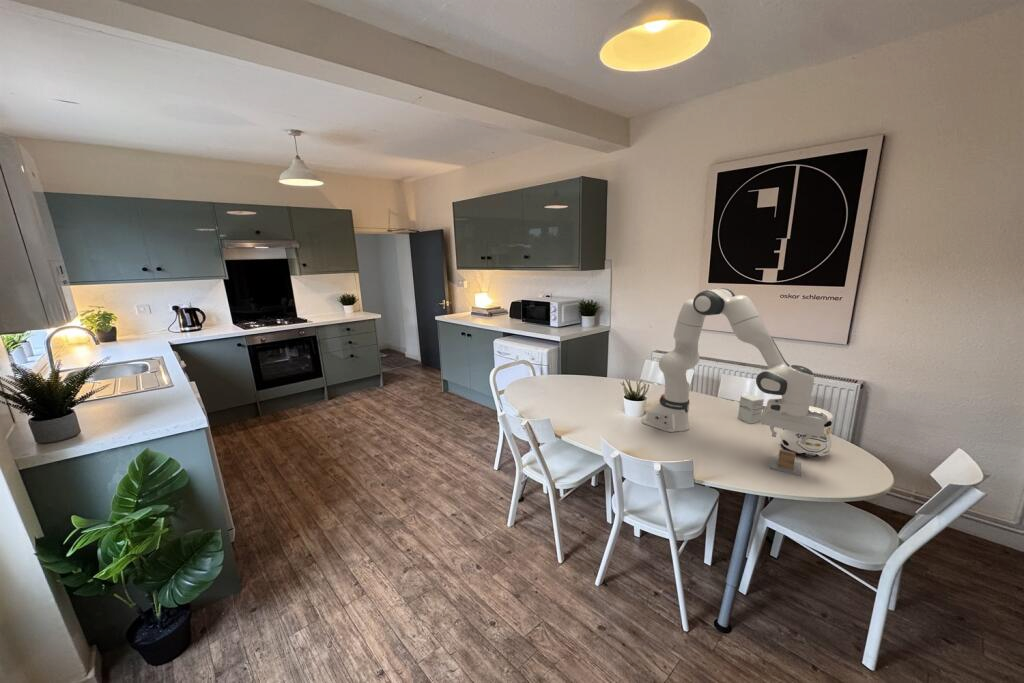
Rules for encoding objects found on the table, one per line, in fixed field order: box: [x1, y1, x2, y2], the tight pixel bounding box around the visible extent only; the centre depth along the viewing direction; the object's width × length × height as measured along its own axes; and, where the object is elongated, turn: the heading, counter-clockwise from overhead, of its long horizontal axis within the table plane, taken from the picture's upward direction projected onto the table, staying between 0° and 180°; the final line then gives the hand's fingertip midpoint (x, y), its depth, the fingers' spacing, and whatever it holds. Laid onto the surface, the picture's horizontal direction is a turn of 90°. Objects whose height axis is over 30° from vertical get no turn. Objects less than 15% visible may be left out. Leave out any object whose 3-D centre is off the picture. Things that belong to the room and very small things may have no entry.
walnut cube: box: [778, 448, 796, 469], centre depth 152 cm, size 5×5×5 cm
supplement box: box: [737, 393, 765, 425], centre depth 194 cm, size 7×7×13 cm
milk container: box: [780, 405, 834, 458], centre depth 164 cm, size 17×17×18 cm
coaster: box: [769, 455, 803, 477], centre depth 153 cm, size 10×10×1 cm
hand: (788, 439), depth 151 cm, fingers open, 8 cm apart
